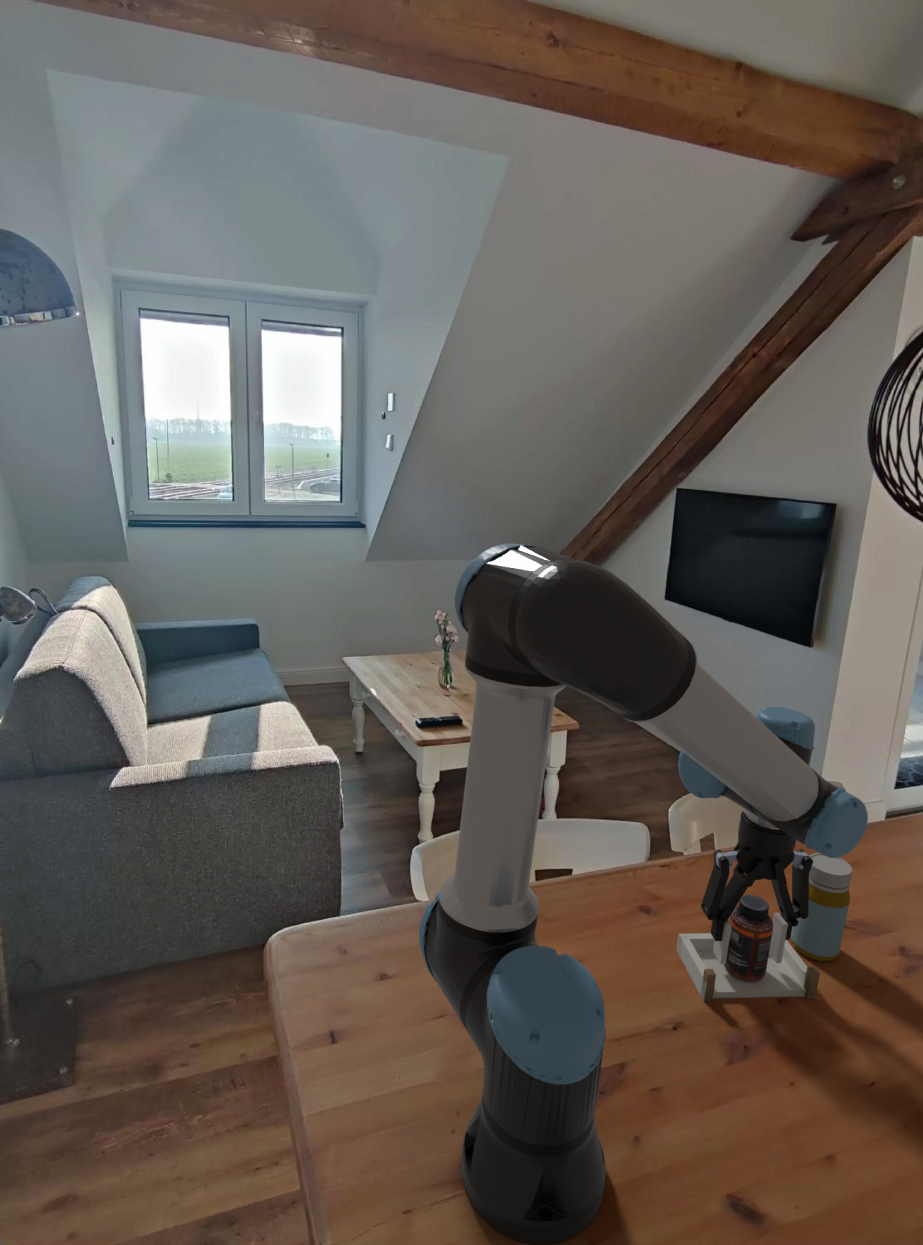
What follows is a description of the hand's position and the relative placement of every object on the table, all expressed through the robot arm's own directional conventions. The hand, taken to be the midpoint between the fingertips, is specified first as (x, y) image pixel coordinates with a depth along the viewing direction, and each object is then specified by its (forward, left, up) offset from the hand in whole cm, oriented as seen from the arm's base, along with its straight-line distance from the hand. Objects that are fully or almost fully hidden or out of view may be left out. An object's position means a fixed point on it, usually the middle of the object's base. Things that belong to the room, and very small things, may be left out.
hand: (746, 957), depth 108 cm
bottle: (+14, -6, -3) cm, 16 cm away
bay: (0, 0, -3) cm, 3 cm away
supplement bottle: (0, 0, -2) cm, 2 cm away
